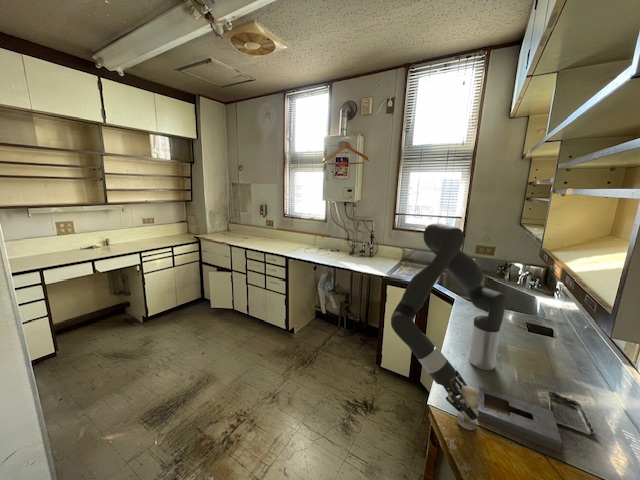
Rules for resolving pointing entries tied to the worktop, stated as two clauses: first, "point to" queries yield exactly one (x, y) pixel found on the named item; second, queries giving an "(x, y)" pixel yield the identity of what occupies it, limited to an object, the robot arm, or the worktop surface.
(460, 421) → the keyhole peg
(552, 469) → the worktop surface
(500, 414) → the keyhole board
